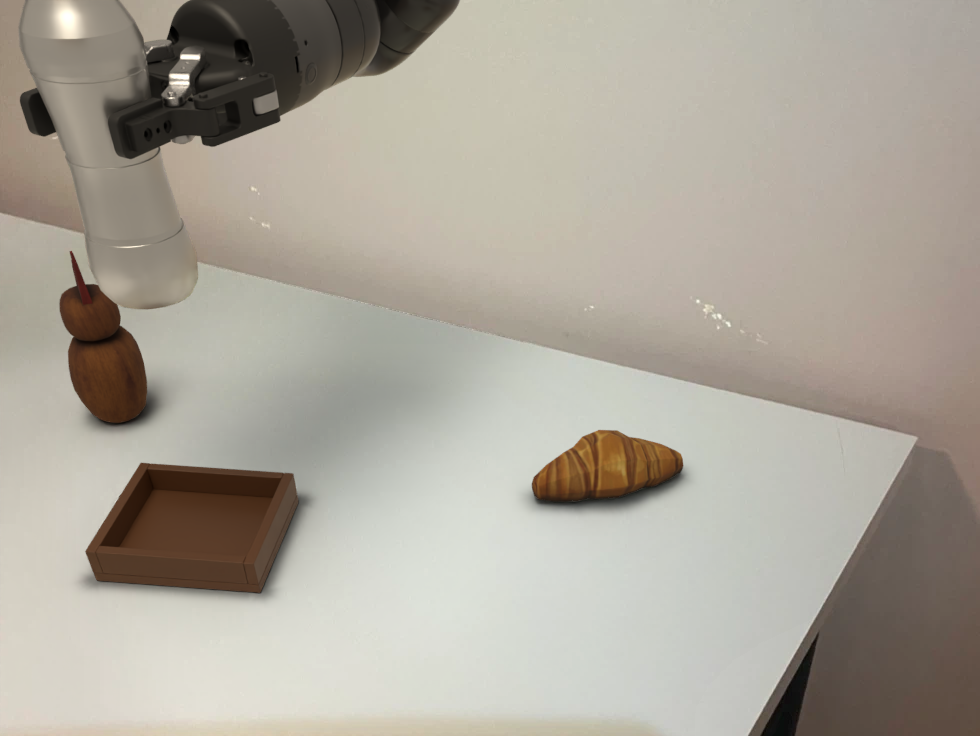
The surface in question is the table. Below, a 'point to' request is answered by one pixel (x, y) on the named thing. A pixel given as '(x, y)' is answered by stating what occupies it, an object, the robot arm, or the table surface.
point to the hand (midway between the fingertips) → (72, 127)
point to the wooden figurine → (102, 353)
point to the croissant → (606, 468)
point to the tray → (195, 528)
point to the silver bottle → (109, 148)
